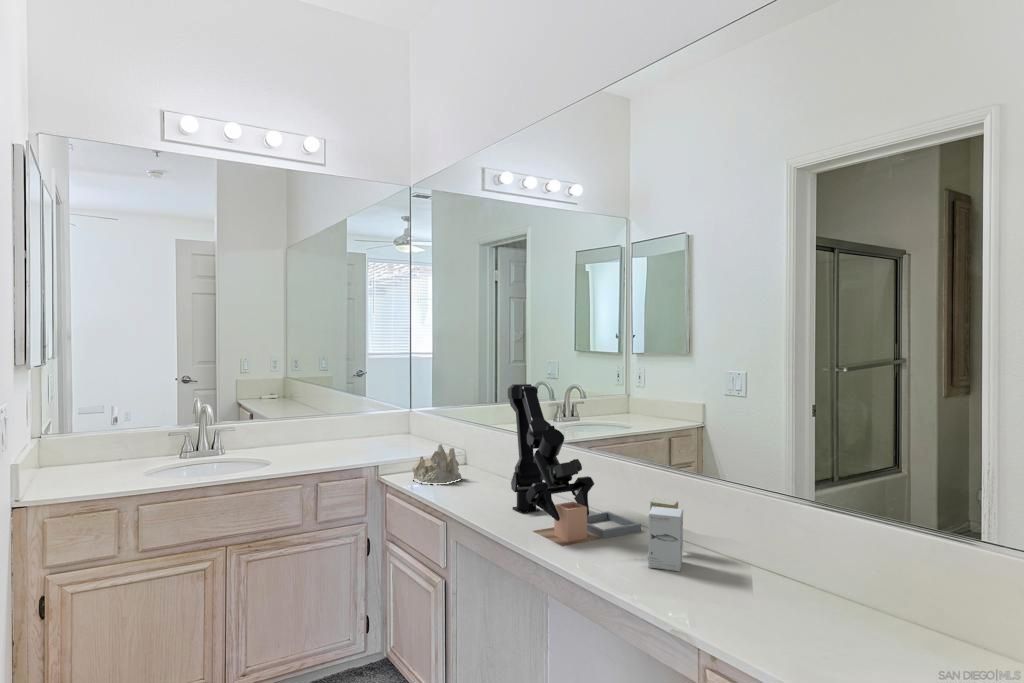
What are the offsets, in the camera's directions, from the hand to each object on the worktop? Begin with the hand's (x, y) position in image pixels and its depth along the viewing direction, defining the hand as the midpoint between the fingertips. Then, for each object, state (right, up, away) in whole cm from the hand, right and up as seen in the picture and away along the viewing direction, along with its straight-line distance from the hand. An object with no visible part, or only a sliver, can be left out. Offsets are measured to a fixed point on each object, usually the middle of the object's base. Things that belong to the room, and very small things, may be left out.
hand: (573, 517), depth 158 cm
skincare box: (+22, -7, -4) cm, 24 cm away
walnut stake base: (-2, -7, +3) cm, 7 cm away
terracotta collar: (-1, -5, +1) cm, 5 cm away
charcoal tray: (+10, -7, +9) cm, 15 cm away
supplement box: (+20, -7, -15) cm, 26 cm away
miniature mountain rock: (-44, -7, +73) cm, 85 cm away
